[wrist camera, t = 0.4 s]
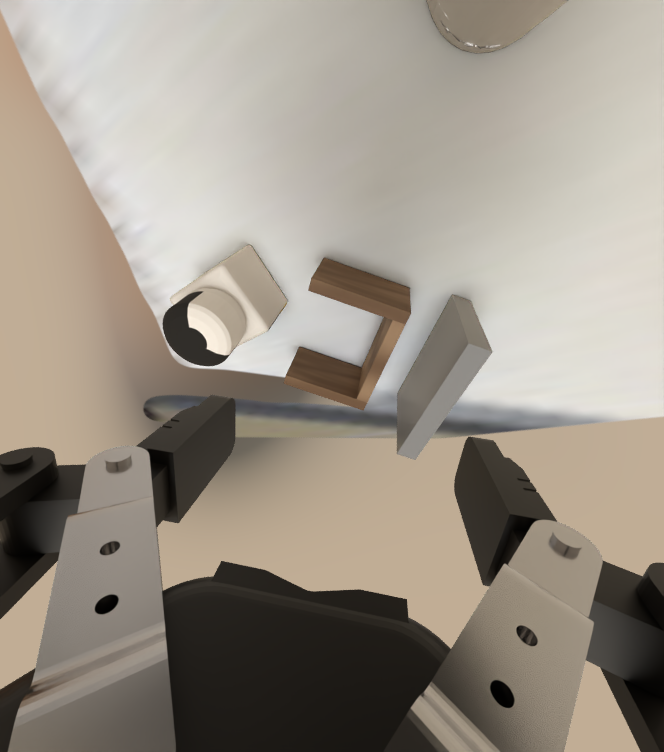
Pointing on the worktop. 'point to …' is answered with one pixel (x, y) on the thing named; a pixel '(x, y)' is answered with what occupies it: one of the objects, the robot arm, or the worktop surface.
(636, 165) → the worktop surface
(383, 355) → the caddy
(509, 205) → the worktop surface
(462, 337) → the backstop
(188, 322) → the medicine bottle
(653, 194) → the worktop surface
